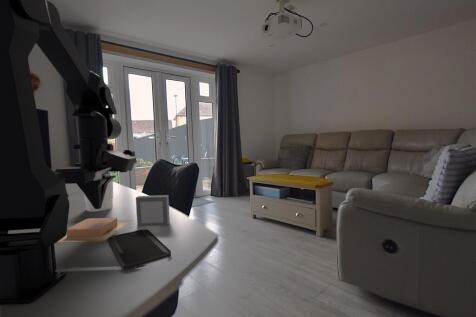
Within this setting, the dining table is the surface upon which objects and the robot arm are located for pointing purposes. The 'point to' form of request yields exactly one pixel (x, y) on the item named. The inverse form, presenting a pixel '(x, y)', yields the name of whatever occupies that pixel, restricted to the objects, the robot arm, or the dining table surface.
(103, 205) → the white cup
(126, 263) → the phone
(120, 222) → the cork mat
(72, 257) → the dining table surface
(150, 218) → the gray box
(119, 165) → the robot arm
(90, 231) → the terracotta tile
